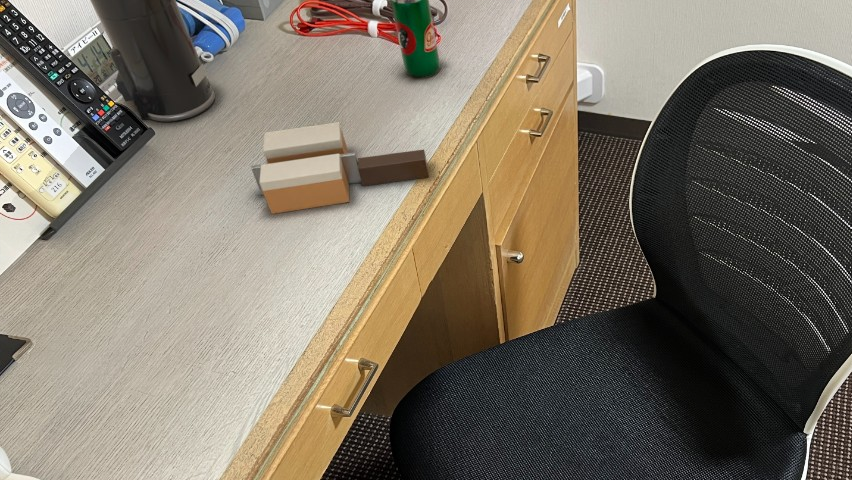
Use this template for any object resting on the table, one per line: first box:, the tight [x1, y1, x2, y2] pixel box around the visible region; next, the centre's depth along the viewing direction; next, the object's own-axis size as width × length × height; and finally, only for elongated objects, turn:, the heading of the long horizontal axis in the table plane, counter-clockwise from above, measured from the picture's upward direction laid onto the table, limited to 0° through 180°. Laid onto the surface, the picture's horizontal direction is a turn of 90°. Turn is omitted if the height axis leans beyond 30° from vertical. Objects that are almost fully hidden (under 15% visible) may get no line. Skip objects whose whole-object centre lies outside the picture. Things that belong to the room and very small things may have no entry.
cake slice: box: [260, 154, 350, 215], centre depth 97 cm, size 9×4×4 cm, turn 103°
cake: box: [262, 121, 349, 164], centre depth 101 cm, size 9×4×4 cm, turn 103°
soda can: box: [389, 0, 441, 79], centre depth 114 cm, size 5×5×12 cm
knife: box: [250, 149, 430, 196], centre depth 99 cm, size 20×2×4 cm, turn 101°
